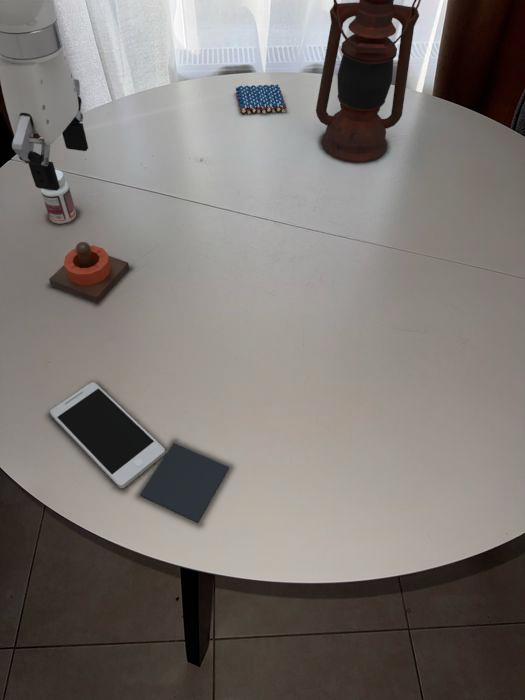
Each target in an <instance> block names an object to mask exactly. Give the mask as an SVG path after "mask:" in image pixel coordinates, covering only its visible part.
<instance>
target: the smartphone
mask: <svg viewBox="0 0 525 700" xmlns="http://www.w3.org/2000/svg"><path fill="white" fill-rule="evenodd" d="M49 414H50V415H51V418H52V419H53V420H54V421H55V422H56V423H57V424H58V425H59V426H60V427H61V428H62V429H63V430H64V431H65V432H66V433H67V434H68V435H69V436H70V438H71V439H72V440H73V441H74V442H75V443H76V444H77V445H78V446H79V447H80V448H81V449H82V450H83V451H84V452H85V453H86V455H88V456H89V457H90V459H91V460H93V462H94V463H96V465H97V466H98V467H99V468H100V470H102V471H103V472H104V473H105V474H106V475H107V477H109V479H110V480H112V482H114V484H115V485H116V486H117V487H118V488H120V489H125V488H126V487H127V486H128V485H130V484H131V483H132V482H133V481H135V479H137V478H138V477H139V476H141V475H142V474H143V473H144V472H146V471H147V470H148V469H149V468H150V467H152V466H153V465H155V464H156V462H158V461H159V460H160V459H162V458H164V457H165V455H166V450H165V449H166V448H164V446H163V445H162V444H160V442H159V441H157V439H155V438H154V437H153V436H152V435H151V434H150V433H149V432H148V431H147V430H146V429H145V428H144V427H142V425H140V423H139V422H138V421H136V420H135V419H134V418H133V417H132V416H131V415H130V414H129V413H128V412H127V411H126V410H125V409H124V408H123V407H121V406H120V404H118V403H117V402H116V401H115V400H114V399H113V398H112V397H111V396H110V395H109V394H108V393H107V392H106V391H105V390H104V389H103V388H102V387H100V386H99V385H98V383H97V382H95V381H91V382H90V383H88V384H87V385H86V386H84V387H82V388H81V389H79V390H78V391H77V392H75V393H74V394H72V395H71V396H70V397H68V398H66V399H65V400H63V401H62V402H60V403H59V404H58V405H56V406H55V407H53V408H52V409H50V410H49Z"/></svg>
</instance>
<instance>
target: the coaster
mask: <svg viewBox="0 0 525 700" xmlns="http://www.w3.org/2000/svg"><path fill="white" fill-rule="evenodd" d="M229 469H230V467H229V466H228V465H227V464H224V463H222V462H219V461H217V460H214V459H212V458H210V457H208V456H205V455H203V454H200V453H198V452H196V451H193V450H191V449H189V448H187V447H184V446H182V445H180V444H178V443H176V442H173V443H172V444H171V446H170V447H169V449H168V451H167V452H166V453H165V455H164V456H163V457H162V460H161V461H160V462H159V464H158V466H157V467H156V469H155V471H154V472H153V473H152V475H151V476H150V478H149V479H148V481H147V482H146V484H145V485H144V487H143V489H142V491H141V492H140V494H139V496H140V497H143V498H144V499H146V500H149V501H150V502H152V503H155V504H157V505H159V506H161V507H163V508H166V509H167V510H170V511H172V512H174V513H176V514H178V515H180V516H182V517H184V518H187V519H188V520H190V521H193V522H195V523H199V522H200V520H201V518H202V517H203V515H204V513H205V511H206V509H207V508H208V506H209V504H210V502H211V500H212V499H213V497H214V495H215V493H216V492H217V490H218V489H219V486H221V485H220V484H221V483H222V482H223V480H224V479H225V478H224V477H226V474H227V472H228V471H229Z"/></svg>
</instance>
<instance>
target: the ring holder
mask: <svg viewBox="0 0 525 700" xmlns="http://www.w3.org/2000/svg"><path fill="white" fill-rule="evenodd" d="M89 245H90V244H89V243H88V242H86V241H80V242H78V243H77V244H76V245H75V248H76V252H77V253H78V257H79V260H80V264H81V265H80V266H79V268H89V267H92V266H94V265H96V264H97V263H95V262H93V258H92V254H91V251H90V250H91V248H90V246H89ZM109 260H110V264H111V270H110V274H109V275H108V276H107V277H106V278H105V279H104V280H103V281H101V282H99V283H96V284H94V285H79V284H76V283H73V282H71V280H70V279H69V278H68V276H67V274H66V271H65V268H64V264H63V265H62V266H61V267H60V268H59V269H58V270H57V271H55V273H54V274H53V275H52V276H51V277H50V278H48V281H49V284H50V286H51V287H52V288H55V289H58V290H61V291H63V292H65V293H69V294H70V295H74V296H76V297H79V298H81V299H84V300H86V301H89V302H92V303H94V304H97V305H98V304H99V303H100V302H101V301H102V300H103V299H104V298H105V297H106V296H107V294H108V293H109V292H110V291H112V289H113V288H114V287H115V285H117V283H119V281H120V280H121V279H123V277H124V276H125V275H126V274H127V273H128V271H130V269H131V268H130V264H129V262H128V261H127V260H122V259H120V258H117V257H114V256H111V255H109Z"/></svg>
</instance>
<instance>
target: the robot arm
mask: <svg viewBox="0 0 525 700" xmlns="http://www.w3.org/2000/svg"><path fill="white" fill-rule="evenodd" d="M64 45H65V44H64V40H63V36H62V33H61V28H60V24H59V19H58V15H57V9H56V5H55V2H54V0H0V87H1V93H2V96H3V100H4V105H5V108H6V113H7V115H8V120H9V123H10V127H11V129H12V132H13V139H12V142H11V148H12V150H13V151H14V152H15V154H17V156H18V158H19V160H21V161H22V162H24V163H25V164H26V165H28V167H29V171H30V173H31V176H32V179H33V182H34V186H35V187H36V188H37V189H40V190H41V189H48V190H55V191H57V190H58V189H59V188H60V186H59V182H58V179H57V175H56V172H55V169H56V168H55V166H54V165H55V164H54V162H53V161H50V155H51V145H52V144H53V143H55V142H56V141H57V140H58V139H59V138H60V137H61V135H62V138H63V141H64V146H65V148H66V149H67V150H73V151H80V152H81V151H82V152H87V151H88V149H89V145H88V140H87V136H86V131H85V127H84V123H83V121H84V115H83V112H81V108H82V103H83V102H82V99H81V96H80V95H81V86H80V83H81V82H80V80H79V79H77V78H76V79H75V78H74V77H73V72H72V69H71V66H70V63H69V60H68V57H67V54H66V51H65V46H64ZM34 134H38V136H39V137H34ZM35 145H41V146H40V153H38V152H36V151H34V148H35Z"/></svg>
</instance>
